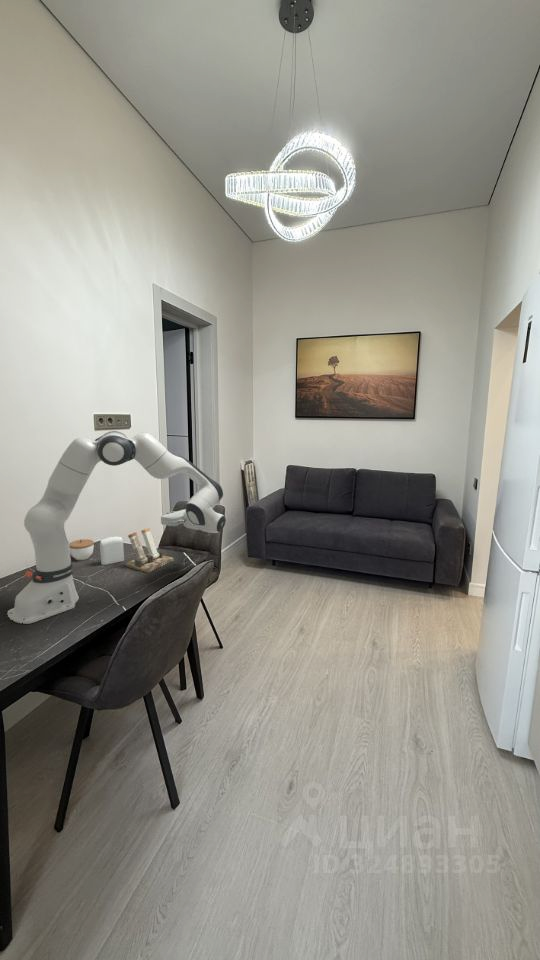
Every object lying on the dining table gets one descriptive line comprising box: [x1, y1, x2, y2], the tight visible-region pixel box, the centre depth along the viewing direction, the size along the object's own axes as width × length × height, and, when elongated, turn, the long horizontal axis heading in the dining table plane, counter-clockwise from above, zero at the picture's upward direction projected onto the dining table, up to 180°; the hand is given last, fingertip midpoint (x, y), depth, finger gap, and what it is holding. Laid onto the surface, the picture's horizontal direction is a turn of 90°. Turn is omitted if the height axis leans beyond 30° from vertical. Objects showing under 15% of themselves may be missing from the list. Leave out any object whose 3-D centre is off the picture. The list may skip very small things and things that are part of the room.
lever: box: [140, 527, 160, 559], centre depth 179 cm, size 4×3×15 cm, turn 150°
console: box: [125, 532, 174, 573], centre depth 177 cm, size 16×14×16 cm
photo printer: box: [99, 536, 125, 566], centre depth 178 cm, size 10×4×12 cm, turn 124°
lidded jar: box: [69, 538, 95, 561], centre depth 183 cm, size 11×11×9 cm
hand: (168, 513), depth 170 cm, fingers closed
